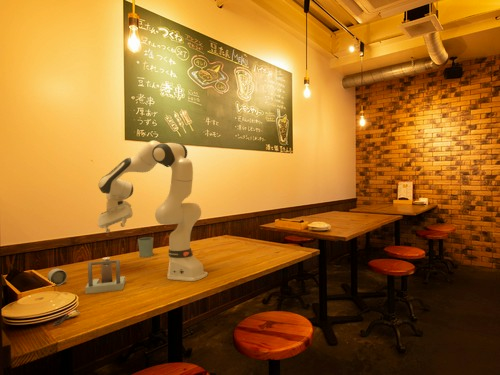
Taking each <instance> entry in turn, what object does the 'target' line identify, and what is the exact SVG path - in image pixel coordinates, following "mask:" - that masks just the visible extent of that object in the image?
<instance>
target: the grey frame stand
mask: <svg viewBox="0 0 500 375" xmlns="http://www.w3.org/2000/svg"><path fill="white" fill-rule="evenodd" d="M120 261H121V260H120V259H114V260H109V261H106V260H103V259H102V261H101V260H100V261H89V262H87V277H88V278H87V284H86V286H85V287H84V291H85V295H89V294H96V293H107V292H114V291H122V290H124V287H125V285H126V276H125V275H124V276H123V275H122V276H121V264H120ZM101 264H112V265H113V264H115V279H114V281H113V282H109V283H100V278H94V279H93V277H94V276H93V266H98V265H99V266H101Z"/></svg>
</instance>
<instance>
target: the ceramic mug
mask: <svg viewBox="0 0 500 375" xmlns="http://www.w3.org/2000/svg"><path fill="white" fill-rule="evenodd" d="M46 277H47V278H46V279H48V280H49V281H51V282H53V283H55V284H56V285H57V286H56V285H55V286H56V287H58V286H61V285H63V284H65V282H66V281H67V278H68V273H67V272H66V271H65V270H63V269H61V268H54V269H51V270H50V271H49V272H48V273H47V276H46Z"/></svg>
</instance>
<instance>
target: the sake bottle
mask: <svg viewBox="0 0 500 375" xmlns="http://www.w3.org/2000/svg"><path fill="white" fill-rule="evenodd" d="M110 259H111V257H110V256H107V257H106V256H105V257H102V261H103V260H106V261H110ZM100 278H101V279H100V280H101V283H109V282H114V281H113V279H114V278H113V264H101V265H100Z"/></svg>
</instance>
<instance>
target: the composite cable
mask: <svg viewBox="0 0 500 375" xmlns="http://www.w3.org/2000/svg"><path fill="white" fill-rule="evenodd" d="M79 314H81V312H80V311H79V309H77V310H71V311H70V312H67V313H66V314H65V315H64V316H63V317H62V318H61V319H58V320H57V321H55V322H54V323H53V327H56V326H57V327H58V326H59V325H61V324H62V323H63V322H64V321H68V320H70V319H73V318H74V317H76V316H78V315H79Z"/></svg>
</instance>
